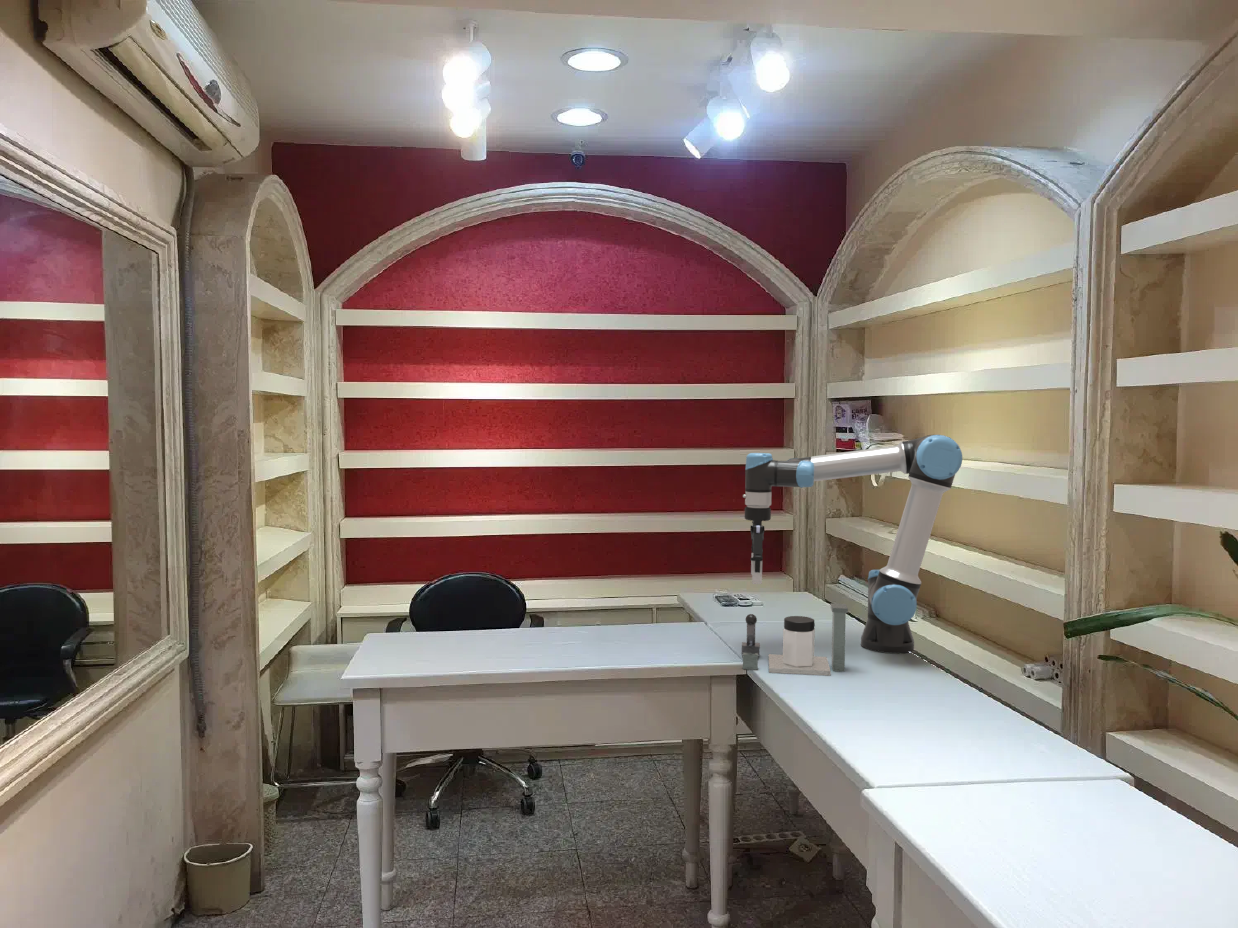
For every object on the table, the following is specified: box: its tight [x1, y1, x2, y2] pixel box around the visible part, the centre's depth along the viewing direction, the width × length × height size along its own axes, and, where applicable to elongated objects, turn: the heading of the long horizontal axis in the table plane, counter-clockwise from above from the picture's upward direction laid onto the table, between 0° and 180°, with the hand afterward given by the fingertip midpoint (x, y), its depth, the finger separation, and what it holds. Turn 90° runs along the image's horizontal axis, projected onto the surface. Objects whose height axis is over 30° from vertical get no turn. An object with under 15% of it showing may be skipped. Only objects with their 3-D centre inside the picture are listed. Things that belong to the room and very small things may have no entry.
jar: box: [782, 615, 816, 667], centre depth 239 cm, size 9×8×12 cm
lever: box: [741, 613, 761, 656], centre depth 249 cm, size 5×4×11 cm
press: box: [742, 602, 849, 676], centre depth 241 cm, size 28×17×17 cm, turn 81°
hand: (756, 579), depth 255 cm, fingers open, 13 cm apart
